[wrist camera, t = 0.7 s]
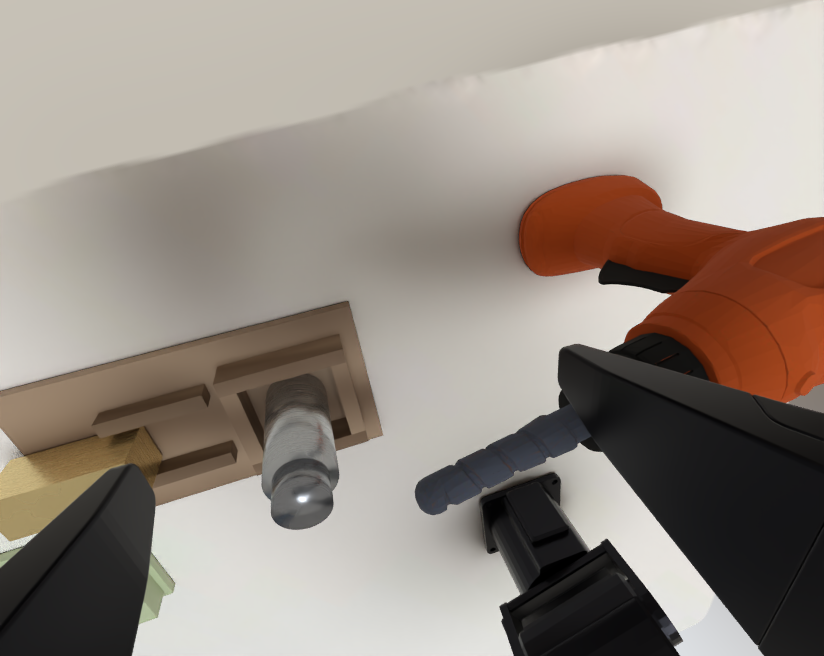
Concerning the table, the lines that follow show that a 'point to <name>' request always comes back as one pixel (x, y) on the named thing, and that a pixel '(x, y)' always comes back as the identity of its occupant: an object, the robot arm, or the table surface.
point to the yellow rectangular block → (66, 477)
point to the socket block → (202, 398)
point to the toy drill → (665, 309)
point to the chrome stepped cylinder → (299, 452)
